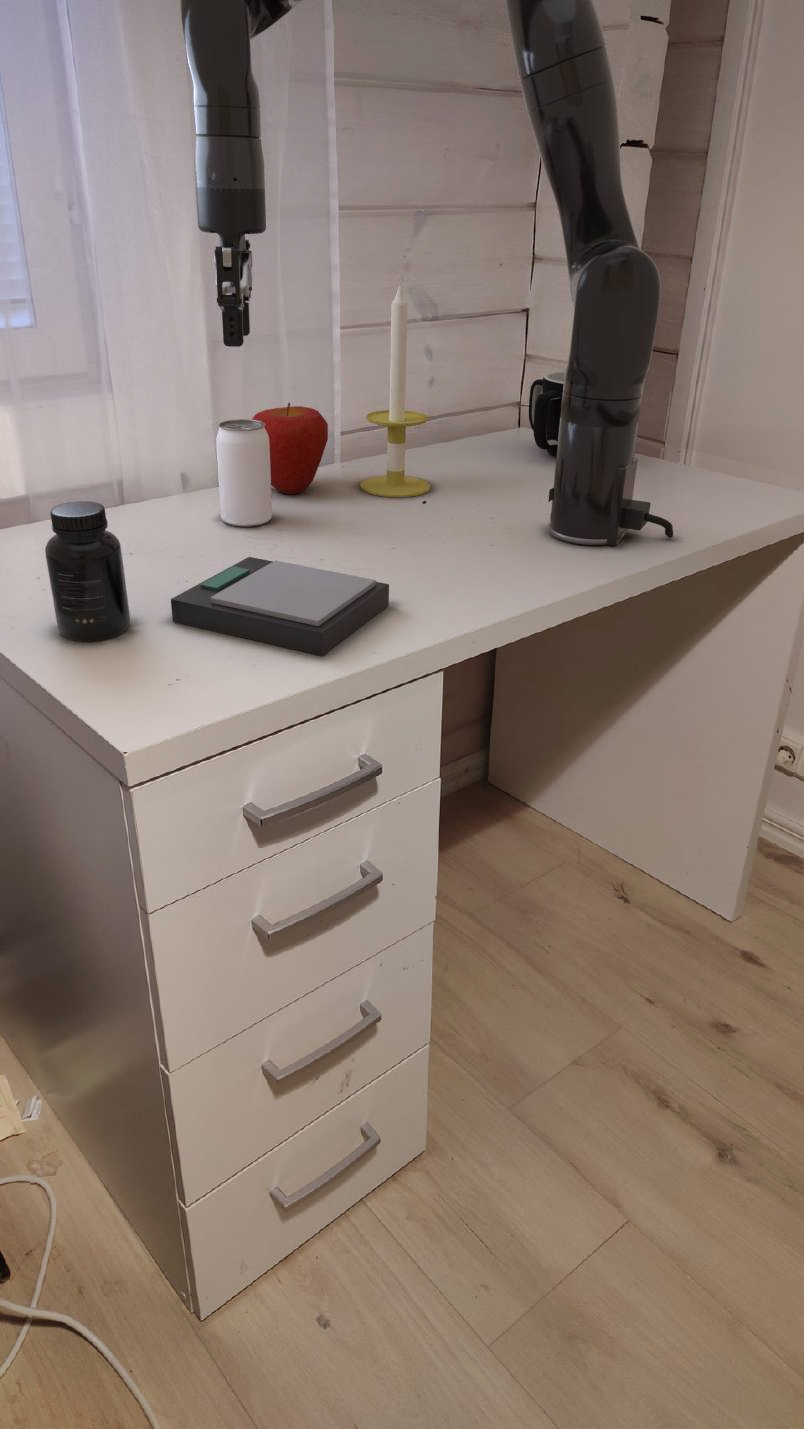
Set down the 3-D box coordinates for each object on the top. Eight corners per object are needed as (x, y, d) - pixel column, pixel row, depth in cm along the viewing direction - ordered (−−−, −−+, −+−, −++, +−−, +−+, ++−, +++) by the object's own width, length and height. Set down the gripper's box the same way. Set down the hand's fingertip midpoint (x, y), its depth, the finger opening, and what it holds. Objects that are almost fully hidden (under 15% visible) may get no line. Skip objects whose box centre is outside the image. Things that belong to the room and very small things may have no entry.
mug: (520, 463, 157) (527, 383, 151) (526, 439, 170) (532, 366, 165) (627, 470, 154) (638, 390, 149) (624, 446, 168) (634, 371, 163)
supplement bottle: (65, 615, 100) (48, 497, 95) (135, 614, 101) (122, 497, 95) (50, 643, 94) (30, 519, 89) (124, 643, 95) (110, 519, 89)
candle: (444, 487, 144) (454, 283, 131) (398, 501, 137) (403, 288, 124) (392, 473, 150) (396, 276, 137) (345, 486, 143) (345, 281, 130)
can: (262, 529, 125) (258, 432, 120) (213, 525, 126) (207, 428, 121) (278, 514, 131) (275, 420, 125) (231, 510, 132) (226, 417, 126)
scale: (388, 605, 105) (389, 578, 103) (322, 656, 93) (322, 626, 92) (250, 577, 111) (248, 551, 109) (172, 621, 100) (169, 593, 98)
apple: (282, 476, 147) (279, 390, 141) (344, 488, 142) (343, 400, 137) (234, 493, 139) (229, 403, 133) (298, 507, 134) (295, 414, 128)
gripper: (259, 187, 104) (265, 351, 112) (269, 184, 117) (273, 332, 125) (186, 184, 104) (197, 349, 112) (203, 182, 116) (212, 331, 124)
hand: (237, 340), depth 118 cm, fingers open, 8 cm apart
